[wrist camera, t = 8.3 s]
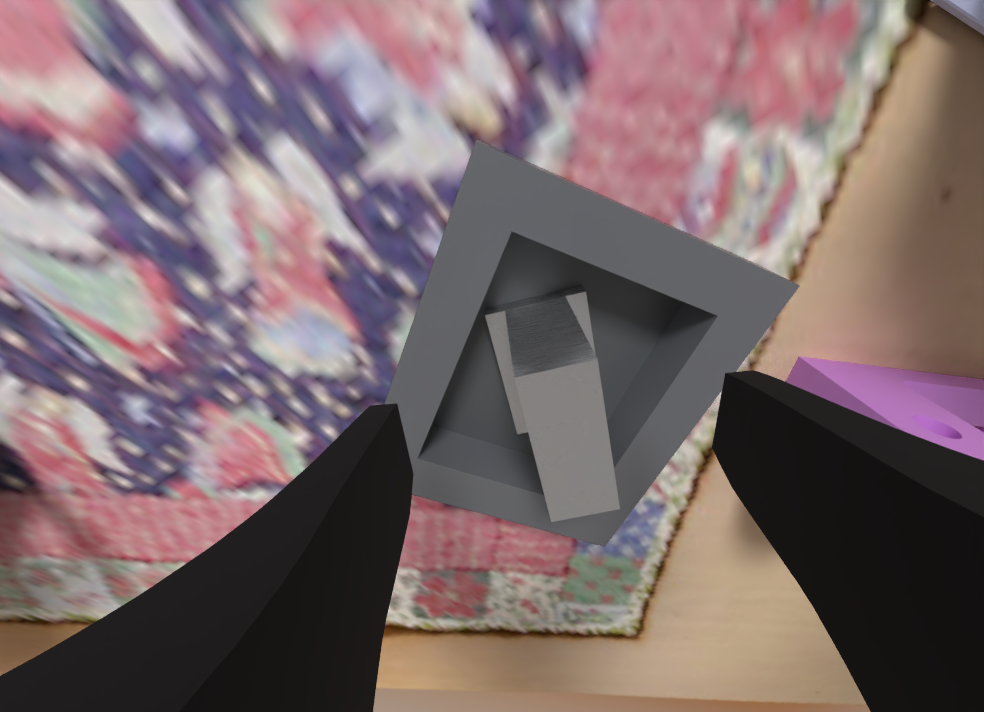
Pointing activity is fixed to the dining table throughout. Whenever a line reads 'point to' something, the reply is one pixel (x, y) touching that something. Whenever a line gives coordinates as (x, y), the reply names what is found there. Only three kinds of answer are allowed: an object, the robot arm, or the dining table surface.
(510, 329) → the grey block
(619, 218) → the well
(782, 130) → the dining table surface
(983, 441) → the bracket
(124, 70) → the dining table surface
